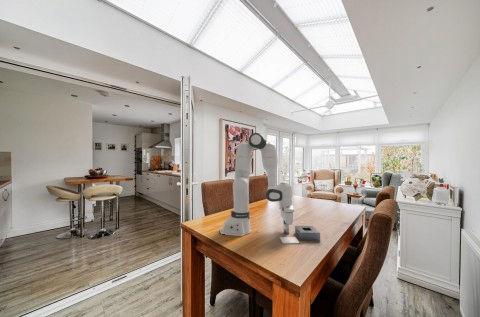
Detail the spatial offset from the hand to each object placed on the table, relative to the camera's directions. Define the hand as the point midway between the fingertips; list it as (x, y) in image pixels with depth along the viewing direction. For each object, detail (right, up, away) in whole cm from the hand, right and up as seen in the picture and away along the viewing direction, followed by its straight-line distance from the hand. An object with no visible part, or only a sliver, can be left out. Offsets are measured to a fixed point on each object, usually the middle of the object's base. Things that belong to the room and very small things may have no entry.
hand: (286, 226), depth 119 cm
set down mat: (-1, -4, -12) cm, 13 cm away
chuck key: (0, -4, 0) cm, 4 cm away
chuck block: (+12, -4, -6) cm, 14 cm away
